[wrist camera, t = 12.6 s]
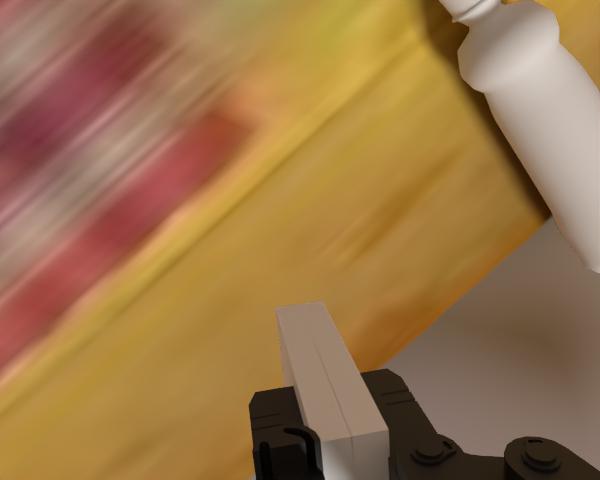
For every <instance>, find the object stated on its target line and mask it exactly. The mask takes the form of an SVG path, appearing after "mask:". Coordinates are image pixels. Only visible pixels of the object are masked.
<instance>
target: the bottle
mask: <svg viewBox="0 0 600 480" xmlns="http://www.w3.org/2000/svg"><path fill="white" fill-rule="evenodd" d="M439 1H440V2H441V4H442V5H443V6H444V7H445V8H446V9H447V11H448V12H449V13H450V14H451V15H452V23H454V22H458V21H459V22H461V23H463V24H464V25H466V26H468V27H469V33H468V35H467V36H466V38H465V40H464V41H463V43H462V44H461V46H460V48H459V49H458V51H457V54H458V62H459V69H460V75H461V77H462V79H463V80H464V81H465V82H466V83H468V84H469V85H470V86H471V87H472V88H473V89H475V90H477V91H479V92H482V93H484V95H485V97H486V100H487V102H488V105H489V107H490V110H491V112H492V115H493V117H494V119H495V121H496V123H497V124H498V126H499V127H500V129H501V131H502V132H503V134H504V136H505V137H506V139H507V140H508V142H509V144H510V145H511V147H512V148H513V150H514V152H515V153H516V155H517V157H518V158H519V160H520V161H521V163H522V165H523V166H524V168H525V170H526V171H527V173H528V174H529V176H530V178H531V179H532V181H533V183H534V184H535V186H536V187H537V189H538V191H539V192H540V194H541V196H542V197H543V199H544V200H545V202H546V204H547V205H548V207H549V209H550V210H551V212H552V215H553V218H554V220H555V223H556V225H557V227H558V229H559V230H560V232H561V234H562V235H563V237H564V238H565V239H566V241H567V242H568V243H569V245H570V246H571V248H572V249H573V250H574V252H575V253H576V254H577V256H578V257H579V259H580V260H581V262H582V263H583V265H584V266H585V267H587V268H589V269H591V270H593V271H595V272H597V273H600V91H599V90H598V88H597V87H596V85H595V84H594V83H593V81H592V80H591V78H590V77H589V75H588V74H587V72H586V71H585V69H584V68H583V67H582V65H581V64H580V63H579V62H578V61H577V60H576V59H575V58H574V57H573V56H572V55H571V54H570V53H569V52H568V51H567V50H566V49H565V48H564V47H563V46H562V45H561V44H560V43H559V26H558V23H557V20H556V17H555V13H554V12H553V11H551V10H549V9H548V8H546V7H544V6H542V5H540V4H538V3H537V2H535V1H533V0H520V1H517V2H513V3H510V4H506V5H505V4H503V3H502V2H501V0H439Z"/></svg>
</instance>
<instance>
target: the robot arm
mask: <svg viewBox="0 0 600 480" xmlns="http://www.w3.org/2000/svg"><path fill="white" fill-rule="evenodd" d="M275 309H276V318H277V326H278V335H279V344H280V353H281V361H282V370H283V379H284V386H285V387H283V388H277V389H272V390H266V391H260V392H255V394H254V396H253V398H252V400H251V402H250V404H249V412H250V420H251V430H252V438H253V451H252V452H253V459H254V466H255V473H256V480H600V471H599V470H597V469H596V468H594V467H593V466H592V465H590V464H589V463H587V462H586V461H584V460H583V459H582V458H580V457H579V456H577V455H576V454H574V453H573V452H572V451H570V450H569V449H567V448H566V447H564V446H562V445H560V444H559V443H557V442H555V441H552V440H549V439H545V438H541V437H522V438H517V439H515V440H513V441H512V442H510V443H509V444H507V446H506V449H505V451H504V457H493V456H478V455H470V454H467V453H464V452H463V451H462V449H461V448H460V447H459V446H458V445H457V444H456V443H455V442H454V441H453V440H451V439H449V438H447V437H445V436H443V435H440V434H437V432H436V431H435V429H434V428H433V426H432V424H431V423H430V421H429V420H428V418H427V417H426V415H425V414H424V412H423V410H422V409H421V407H420V406H419V404H418V403H417V401H415V398H414V397H413V395H412V393H411V392H409V389H408V387H407V386H406V384H405V383H404V381H403V379H402V378H401V377H400V376H398V375H397V374H395V373H393V372H392V371H390V370H389V369H381V370H375V371H369V372H363V373H359V371H358V369H357V367H356V365H355V363H354V361H353V359H352V357H351V355H350V353H349V351H348V349H347V347H346V345H345V343H344V341H343V340H342V338H341V336H340V334H339V332H338V330H337V328H336V326H335V324H334V322H333V320H332V318H331V316H330V314H329V312H328V310H327V308H326V306H325V304H324V302H323V301H316V302H310V303H303V304H296V305H290V306H283V307H277V308H275Z"/></svg>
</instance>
